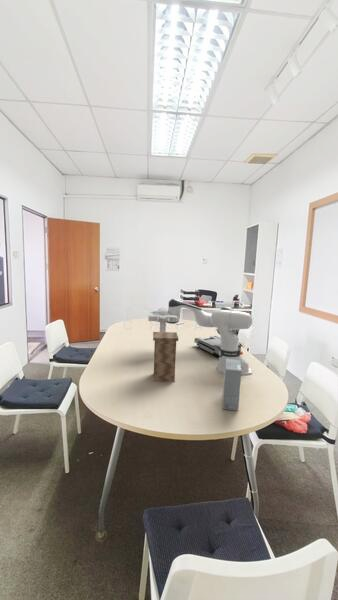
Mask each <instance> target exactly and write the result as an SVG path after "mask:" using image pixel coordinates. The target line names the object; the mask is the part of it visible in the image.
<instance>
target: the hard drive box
mask: <svg viewBox="0 0 338 600" xmlns="http://www.w3.org/2000/svg"><path fill="white" fill-rule="evenodd" d="M241 372H242V371H241V364H240V360H232V359H225V372H224V373H223V387H222V388H223V389H222V402H221V403H222V404H221V409H223V410H231V411H235V412H238V411H239V404H240V403H239V402H240V394H241V381H242V375H241Z"/></svg>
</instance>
